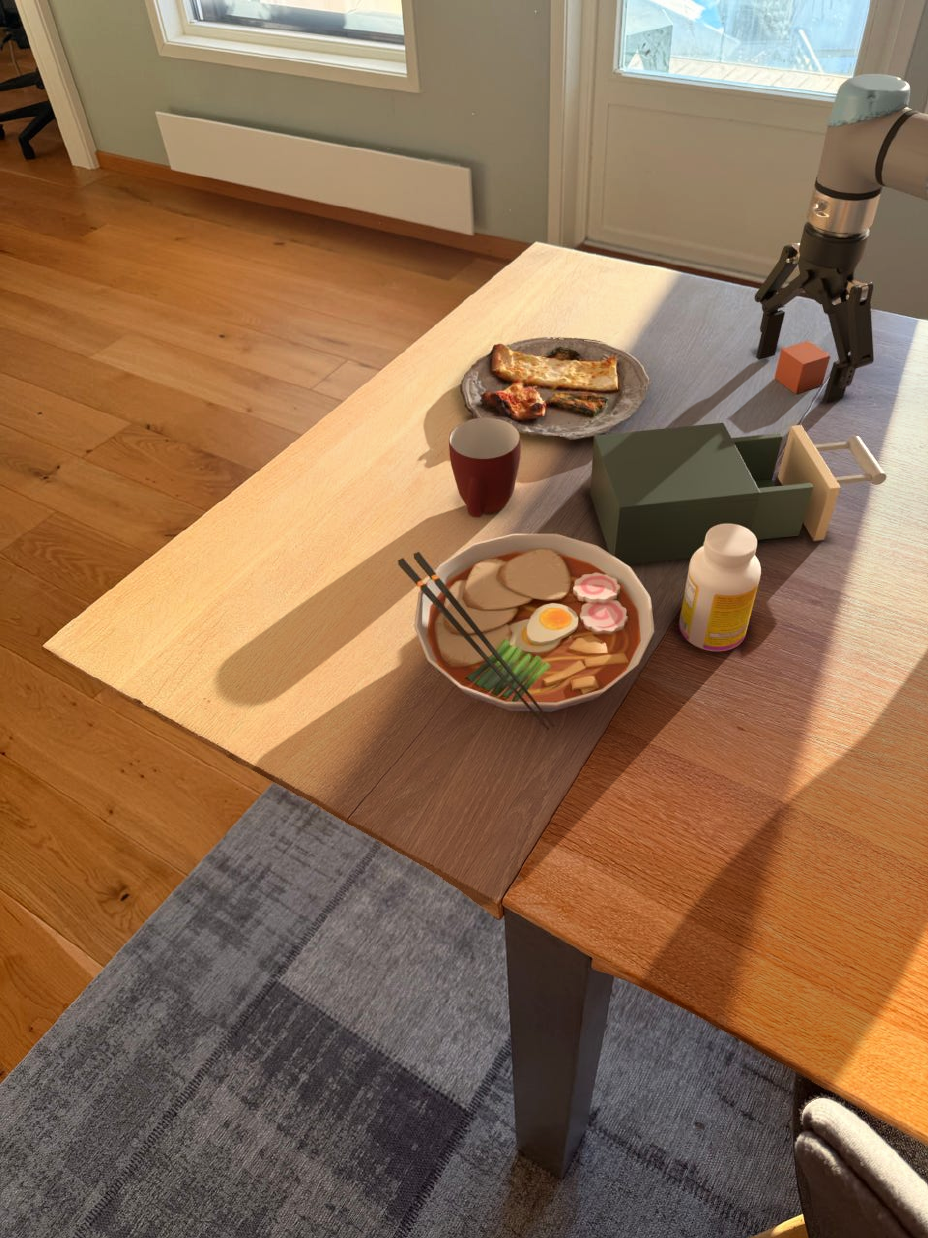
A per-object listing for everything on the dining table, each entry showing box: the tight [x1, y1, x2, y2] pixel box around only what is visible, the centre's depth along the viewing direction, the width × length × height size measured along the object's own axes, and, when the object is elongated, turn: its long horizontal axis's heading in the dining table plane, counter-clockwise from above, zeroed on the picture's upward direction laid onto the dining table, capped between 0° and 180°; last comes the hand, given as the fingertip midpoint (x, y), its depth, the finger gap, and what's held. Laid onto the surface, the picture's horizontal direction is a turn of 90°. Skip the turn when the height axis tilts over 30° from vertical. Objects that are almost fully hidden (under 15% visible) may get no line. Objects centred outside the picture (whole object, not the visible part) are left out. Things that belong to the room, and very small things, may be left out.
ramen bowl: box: [397, 533, 655, 730], centre depth 88 cm, size 25×23×8 cm
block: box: [774, 340, 831, 395], centre depth 122 cm, size 4×4×4 cm
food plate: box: [459, 336, 650, 441], centre depth 123 cm, size 25×23×4 cm
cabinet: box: [589, 422, 760, 565], centre depth 101 cm, size 15×13×9 cm
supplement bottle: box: [678, 524, 762, 652], centre depth 88 cm, size 7×7×13 cm
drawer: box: [731, 424, 887, 542], centre depth 102 cm, size 20×12×7 cm, turn 96°
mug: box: [448, 417, 522, 518], centre depth 104 cm, size 10×8×10 cm
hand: (797, 379), depth 124 cm, fingers open, 13 cm apart
